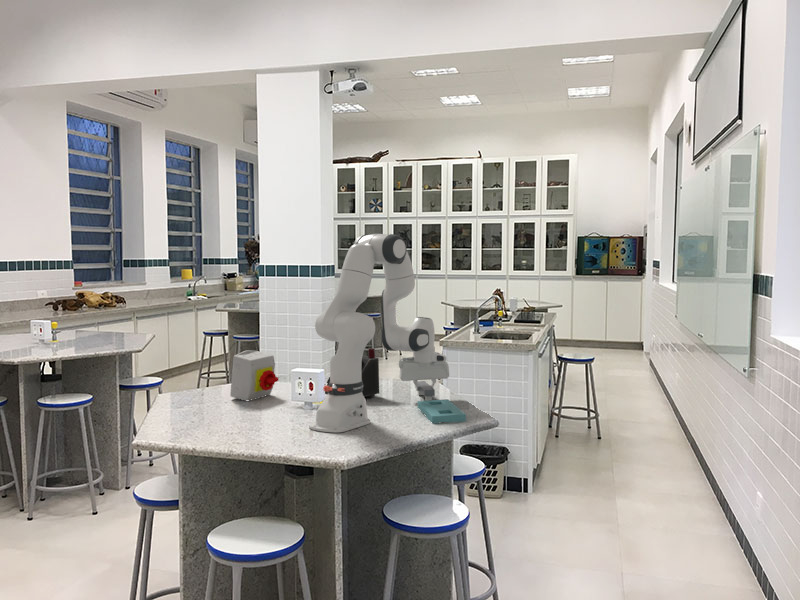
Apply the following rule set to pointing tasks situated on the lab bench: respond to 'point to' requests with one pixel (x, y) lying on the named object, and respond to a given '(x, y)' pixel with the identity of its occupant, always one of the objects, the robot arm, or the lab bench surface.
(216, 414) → the lab bench surface
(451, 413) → the mounting plate
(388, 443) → the lab bench surface
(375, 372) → the voltmeter
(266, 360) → the electrical switch box
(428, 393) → the pin bar
